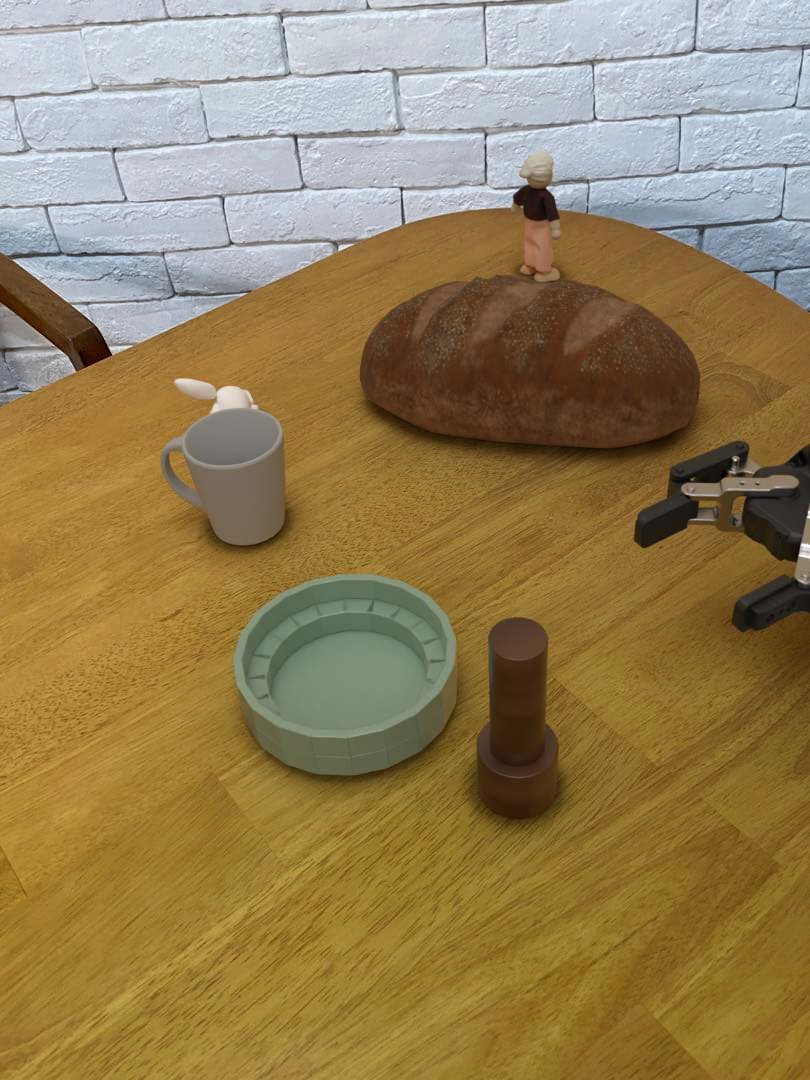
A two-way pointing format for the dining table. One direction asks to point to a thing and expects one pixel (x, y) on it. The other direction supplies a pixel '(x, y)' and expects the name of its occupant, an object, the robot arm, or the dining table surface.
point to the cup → (234, 473)
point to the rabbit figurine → (216, 394)
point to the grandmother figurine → (538, 217)
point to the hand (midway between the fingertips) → (685, 574)
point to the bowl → (347, 673)
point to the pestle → (517, 723)
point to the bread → (531, 365)
